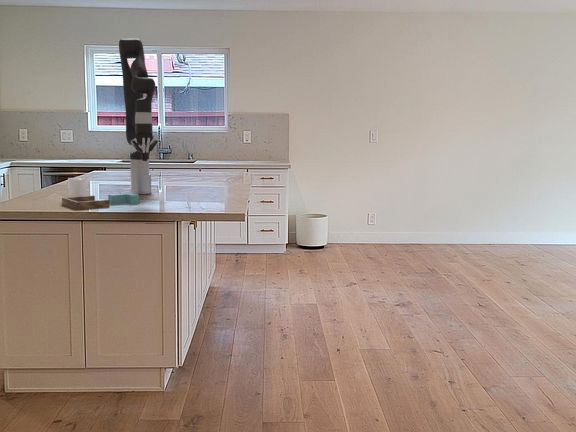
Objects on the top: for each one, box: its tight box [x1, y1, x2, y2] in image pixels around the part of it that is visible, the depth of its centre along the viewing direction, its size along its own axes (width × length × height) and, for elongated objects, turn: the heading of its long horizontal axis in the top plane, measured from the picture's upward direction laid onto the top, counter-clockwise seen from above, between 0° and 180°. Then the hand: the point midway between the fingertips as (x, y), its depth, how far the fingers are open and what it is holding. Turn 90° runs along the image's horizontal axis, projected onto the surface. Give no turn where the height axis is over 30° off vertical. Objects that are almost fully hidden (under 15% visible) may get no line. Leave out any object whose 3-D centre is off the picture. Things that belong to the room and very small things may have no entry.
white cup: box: [67, 177, 87, 197], centre depth 282 cm, size 8×8×10 cm
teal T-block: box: [107, 191, 140, 205], centre depth 276 cm, size 11×12×4 cm
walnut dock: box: [61, 195, 111, 210], centre depth 266 cm, size 14×17×3 cm
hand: (144, 160), depth 280 cm, fingers closed
